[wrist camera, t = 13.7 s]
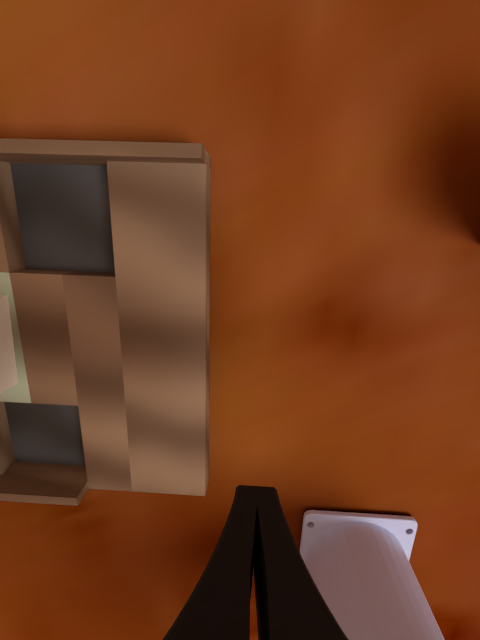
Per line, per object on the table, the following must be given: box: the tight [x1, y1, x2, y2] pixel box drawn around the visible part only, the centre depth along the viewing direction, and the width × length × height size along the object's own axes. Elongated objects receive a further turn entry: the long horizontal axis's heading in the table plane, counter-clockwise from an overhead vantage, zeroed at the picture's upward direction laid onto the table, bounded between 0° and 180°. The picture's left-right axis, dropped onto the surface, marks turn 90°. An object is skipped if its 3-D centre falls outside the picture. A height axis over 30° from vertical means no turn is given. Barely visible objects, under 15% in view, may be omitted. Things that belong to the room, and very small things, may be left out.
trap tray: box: [0, 138, 211, 506], centre depth 19 cm, size 21×18×3 cm
